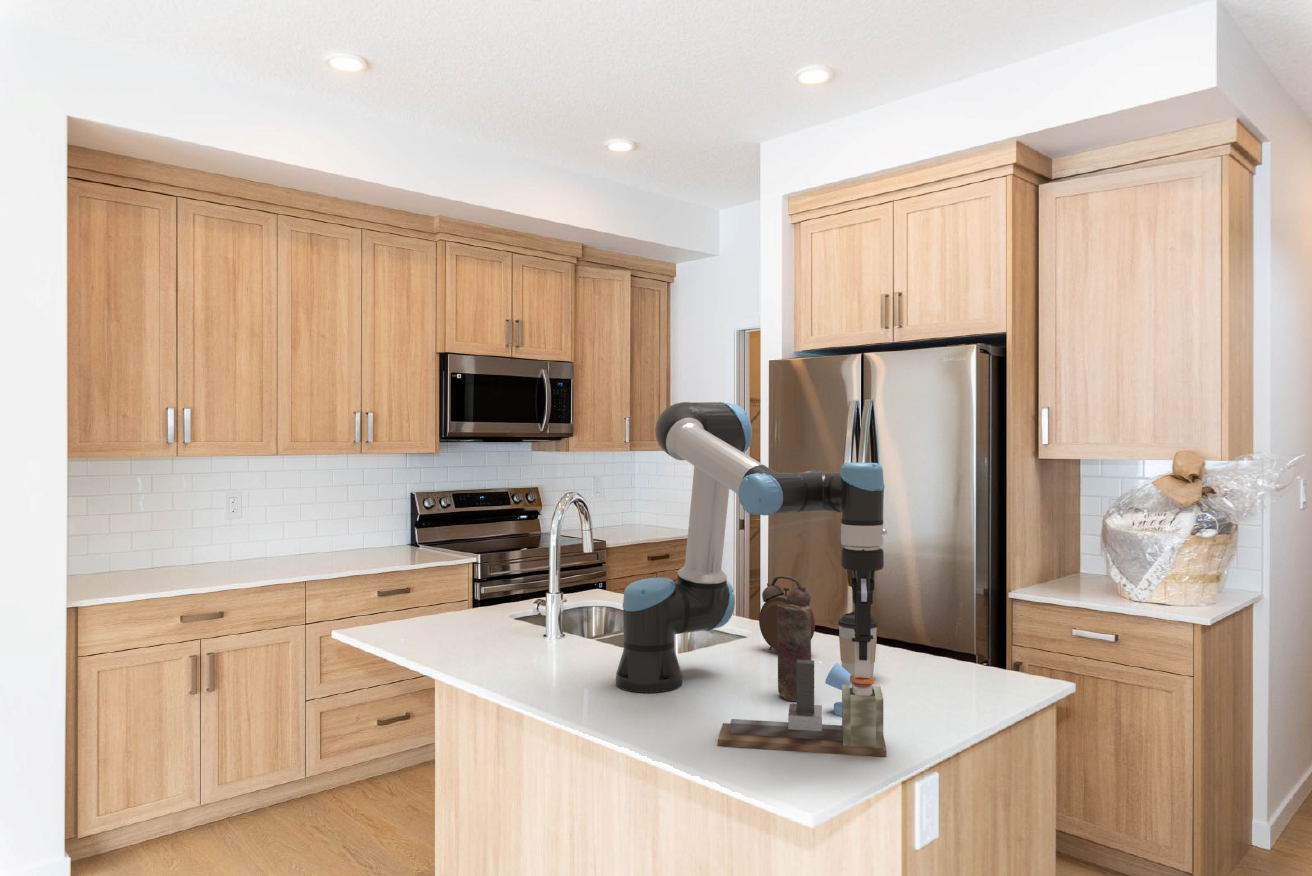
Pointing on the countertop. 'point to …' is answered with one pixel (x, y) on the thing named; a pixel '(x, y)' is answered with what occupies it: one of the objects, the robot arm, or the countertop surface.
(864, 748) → the rail
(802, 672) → the carriage
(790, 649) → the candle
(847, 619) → the coffee cup
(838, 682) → the spotlight
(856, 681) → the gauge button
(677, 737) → the countertop surface
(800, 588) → the alarm clock
